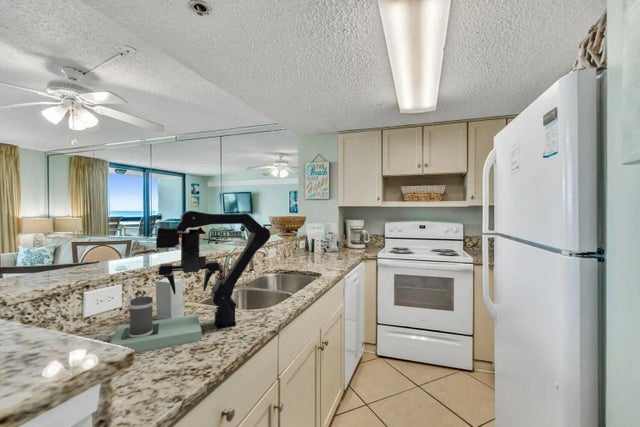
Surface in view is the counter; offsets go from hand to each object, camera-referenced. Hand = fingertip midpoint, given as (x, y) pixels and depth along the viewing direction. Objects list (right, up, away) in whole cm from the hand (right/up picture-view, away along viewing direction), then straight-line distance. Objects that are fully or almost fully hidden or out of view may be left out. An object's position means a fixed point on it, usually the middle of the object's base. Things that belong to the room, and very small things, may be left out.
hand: (189, 292), depth 98 cm
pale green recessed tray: (-7, -13, -6) cm, 16 cm away
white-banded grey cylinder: (-12, -13, -8) cm, 19 cm away
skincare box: (-12, -13, +11) cm, 21 cm away
